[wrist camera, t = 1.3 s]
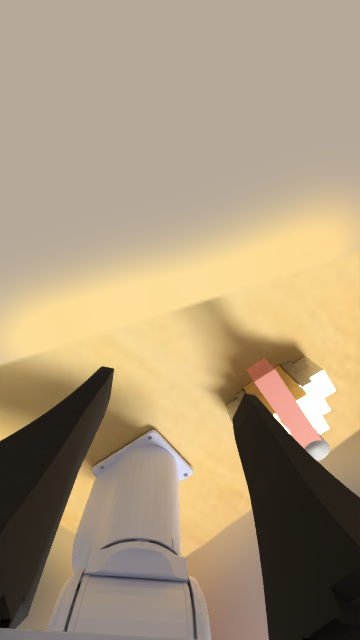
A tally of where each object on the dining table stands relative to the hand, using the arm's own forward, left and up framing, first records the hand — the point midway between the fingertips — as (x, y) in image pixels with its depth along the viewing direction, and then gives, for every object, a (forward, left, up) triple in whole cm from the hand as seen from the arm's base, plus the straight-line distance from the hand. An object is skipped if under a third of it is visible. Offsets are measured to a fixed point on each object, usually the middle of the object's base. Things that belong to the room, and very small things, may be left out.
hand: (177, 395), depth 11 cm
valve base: (+5, -12, -10) cm, 16 cm away
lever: (+5, -8, -4) cm, 10 cm away
